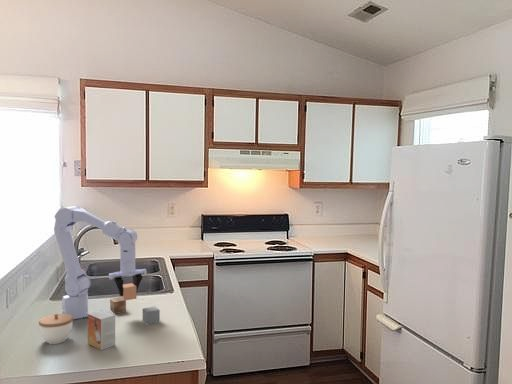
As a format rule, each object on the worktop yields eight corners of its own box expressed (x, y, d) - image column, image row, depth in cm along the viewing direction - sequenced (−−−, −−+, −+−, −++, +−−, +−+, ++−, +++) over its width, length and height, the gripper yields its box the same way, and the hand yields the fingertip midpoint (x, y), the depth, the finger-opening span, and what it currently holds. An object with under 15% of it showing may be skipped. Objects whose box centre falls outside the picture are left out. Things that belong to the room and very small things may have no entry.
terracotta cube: (123, 300, 169) (123, 288, 169) (119, 297, 173) (119, 285, 173) (136, 298, 172) (136, 286, 172) (132, 295, 176) (132, 283, 176)
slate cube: (147, 325, 166) (147, 312, 166) (142, 321, 170) (142, 308, 170) (159, 322, 169) (159, 309, 168) (154, 318, 173) (154, 306, 172)
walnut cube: (113, 314, 178) (113, 302, 177) (110, 310, 182) (110, 298, 181) (126, 311, 180) (125, 300, 180) (122, 308, 184) (122, 296, 184)
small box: (87, 344, 147) (87, 313, 147) (102, 339, 152) (102, 309, 151) (101, 350, 142) (100, 319, 142) (115, 345, 147) (115, 314, 146)
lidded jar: (63, 332, 158) (63, 306, 157) (79, 339, 151) (78, 313, 150) (33, 341, 149) (33, 314, 149) (48, 349, 143) (47, 321, 142)
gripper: (112, 264, 165) (112, 300, 165) (149, 260, 173) (149, 294, 174) (107, 261, 170) (107, 295, 171) (143, 257, 179) (143, 289, 179)
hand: (128, 294), depth 173 cm, fingers closed on terracotta cube, 5 cm apart
